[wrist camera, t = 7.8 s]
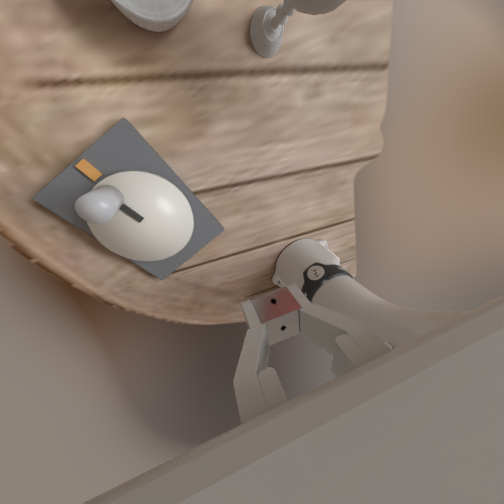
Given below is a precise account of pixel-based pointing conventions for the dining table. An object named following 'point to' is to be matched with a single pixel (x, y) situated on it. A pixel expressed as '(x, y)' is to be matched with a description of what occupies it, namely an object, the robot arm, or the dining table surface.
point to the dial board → (116, 160)
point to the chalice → (282, 22)
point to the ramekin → (154, 12)
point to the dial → (138, 215)
